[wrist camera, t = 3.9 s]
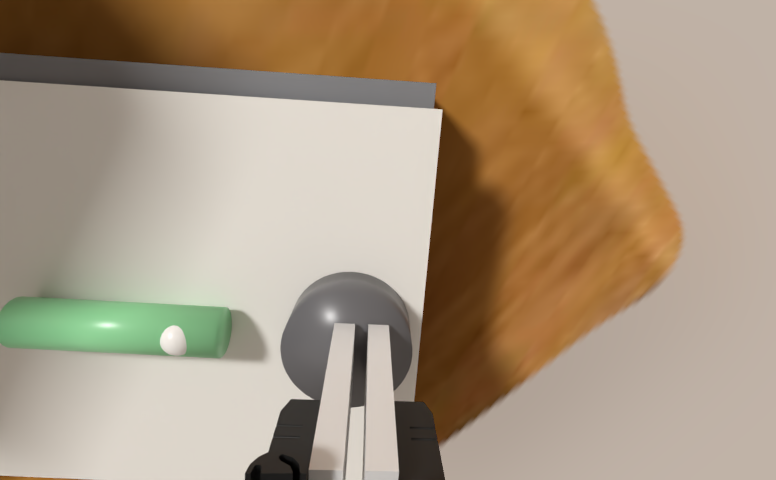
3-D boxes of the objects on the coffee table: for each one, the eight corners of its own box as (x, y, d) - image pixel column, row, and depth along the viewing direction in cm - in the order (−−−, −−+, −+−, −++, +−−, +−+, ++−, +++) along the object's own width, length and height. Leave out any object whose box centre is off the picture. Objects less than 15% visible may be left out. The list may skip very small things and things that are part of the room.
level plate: (14, 450, 22) (-58, 517, 18) (-83, 74, 16) (-212, 66, 13) (403, 467, 22) (407, 536, 19) (437, 108, 17) (451, 110, 13)
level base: (70, 411, 26) (20, 464, 22) (-1, 57, 20) (-87, 46, 16) (395, 415, 27) (401, 465, 24) (423, 86, 21) (436, 83, 18)
